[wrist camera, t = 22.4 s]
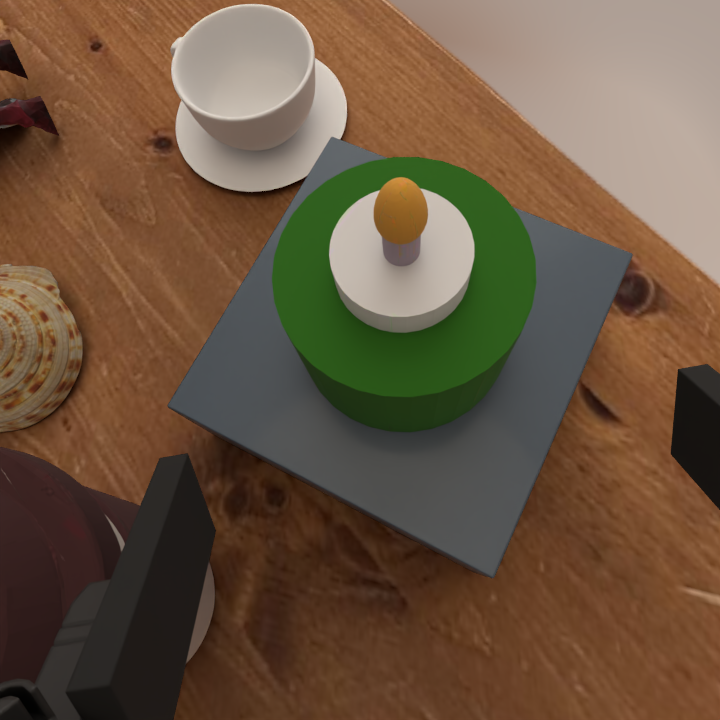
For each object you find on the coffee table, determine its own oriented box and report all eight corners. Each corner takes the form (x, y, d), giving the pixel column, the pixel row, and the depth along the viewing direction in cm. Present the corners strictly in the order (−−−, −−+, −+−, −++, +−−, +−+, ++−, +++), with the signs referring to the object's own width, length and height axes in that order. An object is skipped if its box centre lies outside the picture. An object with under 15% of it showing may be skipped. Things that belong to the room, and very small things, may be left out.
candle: (383, 476, 22) (365, 421, 13) (261, 314, 25) (171, 166, 15) (552, 347, 23) (651, 207, 14) (420, 203, 26) (428, -1, 16)
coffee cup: (99, 458, 30) (-187, 373, 15) (281, 534, 28) (148, 517, 14) (-5, 664, 27) (-462, 791, 13) (188, 762, 25) (-95, 1034, 11)
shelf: (212, 434, 30) (165, 406, 24) (344, 207, 33) (331, 135, 27) (475, 573, 27) (493, 579, 21) (590, 309, 30) (633, 253, 24)
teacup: (379, 91, 35) (375, 23, 31) (287, 224, 33) (269, 173, 28) (239, 31, 37) (216, -40, 33) (145, 152, 35) (106, 94, 30)
